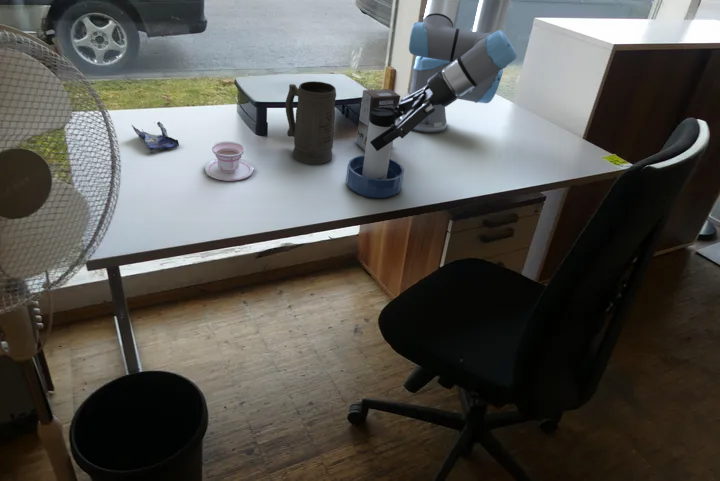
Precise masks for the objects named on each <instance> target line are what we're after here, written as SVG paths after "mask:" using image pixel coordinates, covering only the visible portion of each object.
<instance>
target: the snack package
mask: <svg viewBox="0 0 720 481" xmlns="http://www.w3.org/2000/svg"><path fill="white" fill-rule="evenodd" d="M153 124H156V125H157V126H158V128H160V131H161V134H157V135H156V134H152V133H149V132H146V131H144V129H141V130H142V131H140V129H138V128H136V127H135V126H134V125H132V124H131V127H132V128H133V131H134V132H135V133H136V135H138V137H139V138H140V139H141V141H143V143H144V144H145V145H146V146H147V148H148V149H149V151H153V150H156V149H161V148H162V149H163V150H162V151H167V150H172V149H174V148H176V147H179V146H180V143H179V140H178V139H175V138H174V137H172V136H171V137H170V136H169V135H168V131H167V129H166V127H165V126H164V125H163V123H161V122H160V121H158V122H156V123H155V121H154V122H153ZM152 153H153V152H150V154H152Z"/></svg>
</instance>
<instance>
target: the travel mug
mask: <svg viewBox="0 0 720 481" xmlns="http://www.w3.org/2000/svg"><path fill="white" fill-rule="evenodd" d="M396 115H398V110H395V109H393V108H389V107H378V108H374V109H373V110H372V111H371V113H370V120H369V126H368V134H367V142H366V149H365V150H364V155H365V157H364V164H363V172H362V176H365V177H368V178H372V179H386V178H387V172H388V165H389V159H391V152H392V148H391V146H392V147H393V144H392V142H390V143H389V144H387V145H386V146H384V147H383V148H381V149H380V150H378V151H376V149H375V148H374V147H373V146H372V144H371V143H370V141H372V140H373V139H375V138H376V137H377V136H379V135H380V134H382V133H383V132H385V131H386V130H388V129H389V128H390V127H391V125H392V124H395V119H396Z"/></svg>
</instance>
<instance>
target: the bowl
mask: <svg viewBox="0 0 720 481" xmlns="http://www.w3.org/2000/svg"><path fill="white" fill-rule="evenodd" d="M364 157H365V154H362V155H357V156H354V157H352V158H350V159H349V160H348V163H347V169H346V176H345V178H346V179H345V183H346V185H347V187H349V189H350V190H352V191H354V192H355V193H356V194H358V195H361V196H362V197H363V196H364V197H367V198H371V199H385V198H389V197H393V196H395V195H398V193H400V191H402V186H403V180H404V174H405V168H404V166H403V165H402V164H401V163H399V162H398V161H397V160H395V159H393V158H390V159H389V165H388V172H387V178H386V179H372V178H368V177H365V176H362V172H363V164H364Z"/></svg>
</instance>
